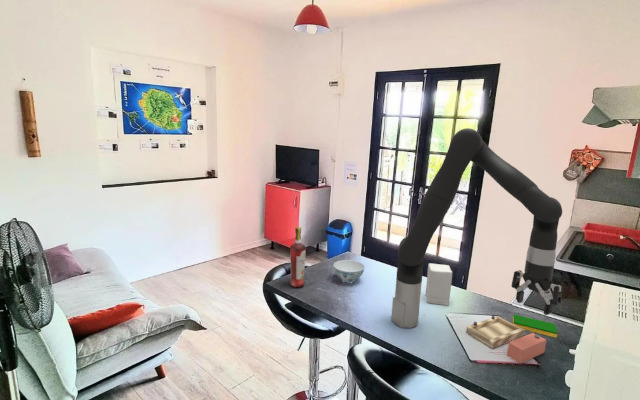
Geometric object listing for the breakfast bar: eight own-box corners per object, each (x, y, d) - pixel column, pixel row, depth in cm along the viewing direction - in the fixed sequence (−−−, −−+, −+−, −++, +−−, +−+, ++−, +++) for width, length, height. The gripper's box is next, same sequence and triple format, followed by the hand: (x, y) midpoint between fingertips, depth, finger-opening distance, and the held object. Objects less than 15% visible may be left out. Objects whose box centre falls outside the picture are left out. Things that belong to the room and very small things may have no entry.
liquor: (296, 280, 164) (297, 224, 158) (308, 285, 159) (309, 227, 154) (286, 285, 158) (286, 227, 152) (298, 290, 153) (299, 230, 148)
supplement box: (449, 306, 143) (453, 272, 140) (427, 303, 145) (430, 270, 142) (446, 296, 152) (449, 264, 149) (425, 294, 154) (428, 262, 151)
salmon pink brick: (520, 364, 108) (522, 348, 106) (506, 356, 111) (509, 340, 110) (544, 353, 113) (546, 338, 112) (530, 345, 117) (532, 331, 116)
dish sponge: (556, 339, 122) (557, 332, 122) (512, 327, 129) (513, 322, 128) (554, 329, 128) (555, 323, 128) (512, 319, 135) (513, 313, 134)
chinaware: (365, 287, 158) (366, 272, 157) (333, 286, 158) (333, 271, 157) (361, 274, 173) (362, 260, 172) (332, 273, 173) (333, 259, 172)
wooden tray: (492, 348, 115) (493, 339, 114) (466, 332, 124) (467, 323, 123) (523, 336, 123) (524, 327, 122) (496, 321, 132) (498, 313, 131)
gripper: (511, 255, 111) (504, 301, 114) (557, 270, 99) (549, 321, 102) (524, 252, 115) (518, 296, 118) (571, 266, 102) (563, 315, 105)
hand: (532, 308), depth 110 cm, fingers open, 8 cm apart
